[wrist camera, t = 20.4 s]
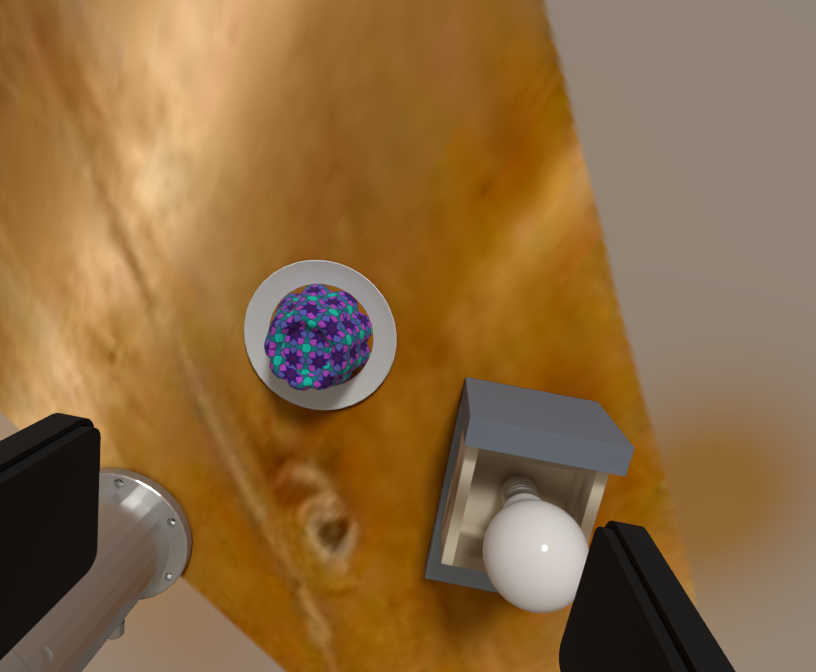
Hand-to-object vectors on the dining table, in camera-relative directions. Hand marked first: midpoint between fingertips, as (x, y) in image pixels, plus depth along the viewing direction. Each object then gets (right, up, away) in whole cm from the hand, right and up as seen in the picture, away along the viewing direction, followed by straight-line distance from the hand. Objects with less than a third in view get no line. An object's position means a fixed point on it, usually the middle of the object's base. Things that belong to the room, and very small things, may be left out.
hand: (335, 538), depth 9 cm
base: (+9, -9, +33) cm, 35 cm away
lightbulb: (+10, -8, +30) cm, 32 cm away
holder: (+10, -8, +31) cm, 33 cm away
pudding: (-5, +4, +31) cm, 32 cm away
